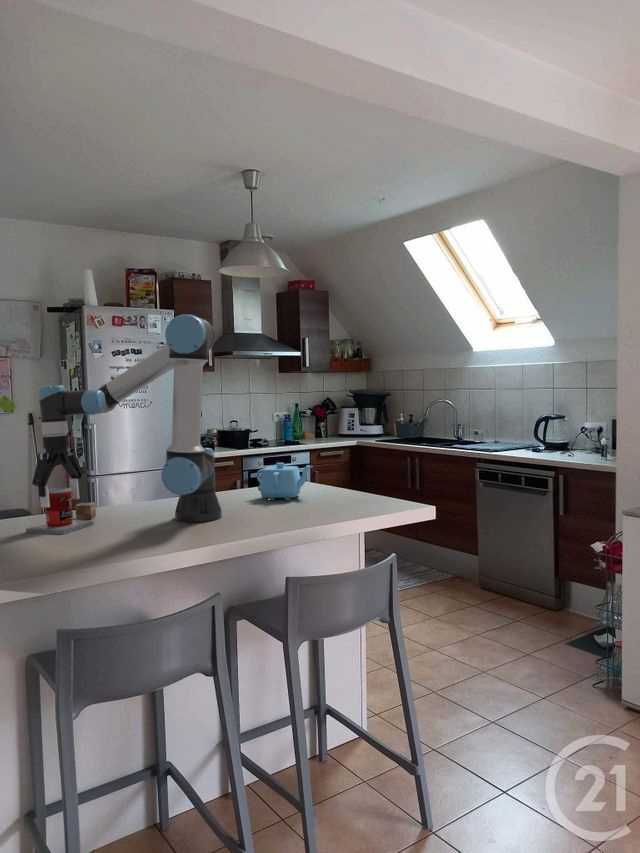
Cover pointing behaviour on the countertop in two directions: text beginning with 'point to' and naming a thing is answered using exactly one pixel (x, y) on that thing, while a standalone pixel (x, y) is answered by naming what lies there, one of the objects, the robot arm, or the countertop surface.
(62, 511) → the canned food
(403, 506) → the countertop surface
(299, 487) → the teapot
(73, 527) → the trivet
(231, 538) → the countertop surface
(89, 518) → the walnut block
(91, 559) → the countertop surface
